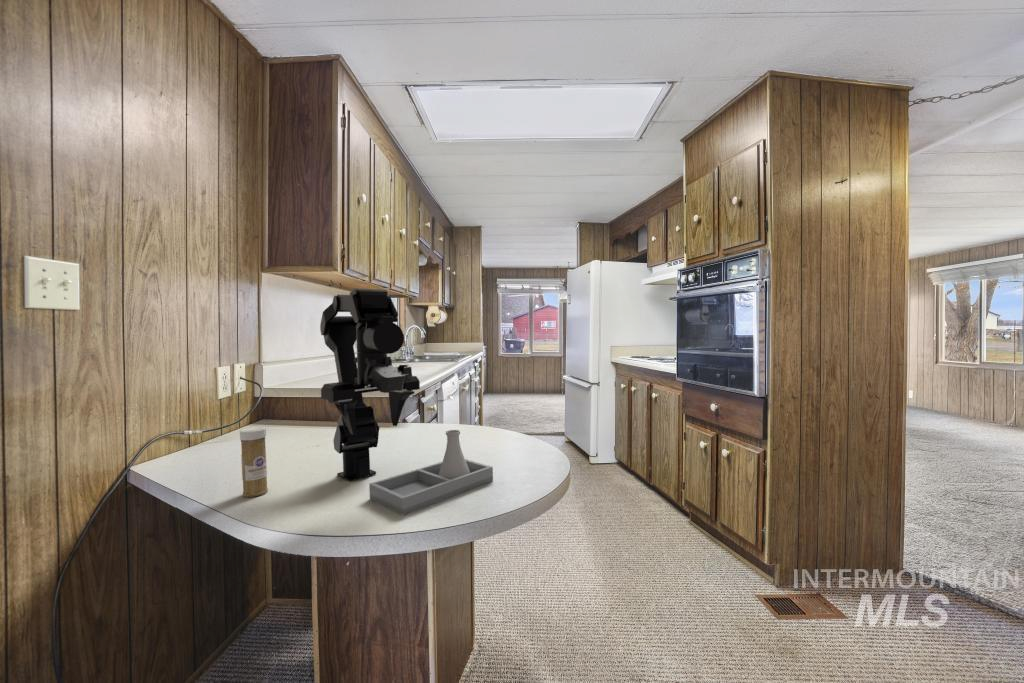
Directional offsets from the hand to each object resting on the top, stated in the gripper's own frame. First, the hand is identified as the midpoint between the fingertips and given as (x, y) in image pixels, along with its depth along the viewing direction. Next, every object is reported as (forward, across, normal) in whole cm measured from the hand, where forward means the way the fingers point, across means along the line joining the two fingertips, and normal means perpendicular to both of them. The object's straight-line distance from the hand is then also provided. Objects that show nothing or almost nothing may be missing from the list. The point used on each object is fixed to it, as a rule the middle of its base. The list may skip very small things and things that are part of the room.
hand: (374, 429), depth 87 cm
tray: (+13, +9, -7) cm, 17 cm away
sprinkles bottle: (+13, -16, +20) cm, 29 cm away
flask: (+12, +14, -7) cm, 20 cm away
